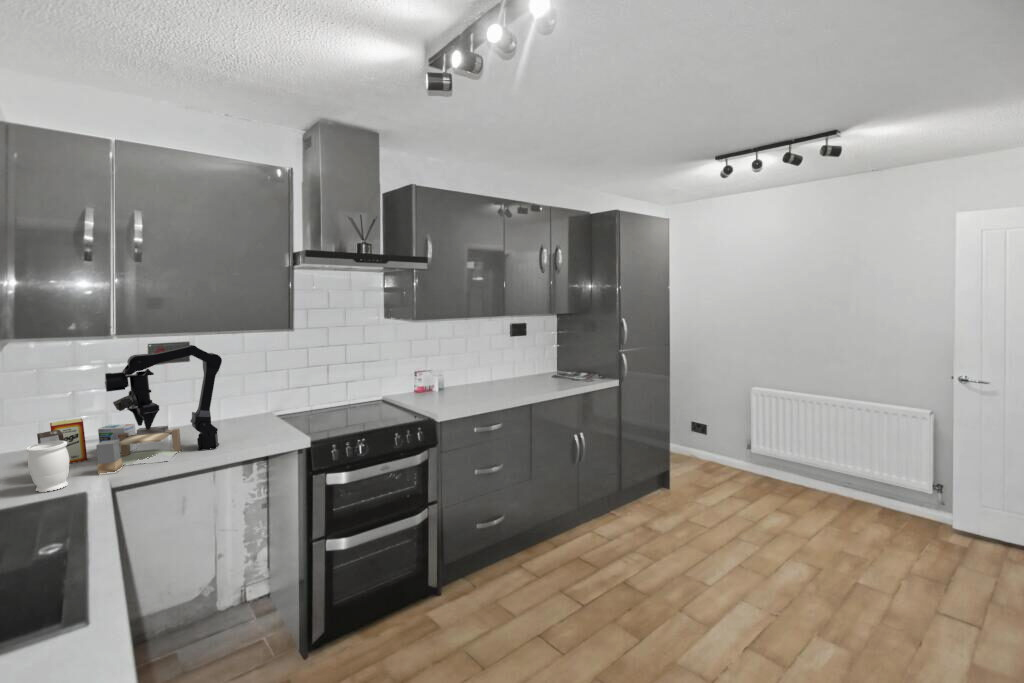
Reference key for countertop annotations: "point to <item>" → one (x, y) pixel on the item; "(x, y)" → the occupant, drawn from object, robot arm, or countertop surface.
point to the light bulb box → (116, 433)
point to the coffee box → (50, 436)
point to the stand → (133, 457)
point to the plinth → (109, 466)
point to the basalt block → (108, 451)
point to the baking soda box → (72, 438)
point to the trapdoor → (147, 435)
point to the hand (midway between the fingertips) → (144, 427)
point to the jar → (49, 465)
